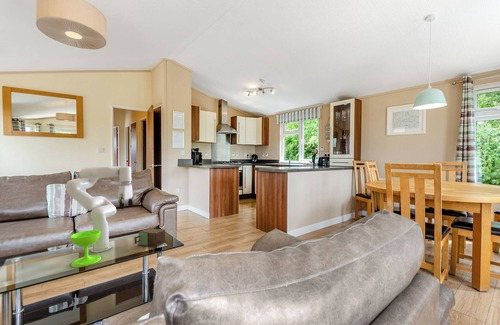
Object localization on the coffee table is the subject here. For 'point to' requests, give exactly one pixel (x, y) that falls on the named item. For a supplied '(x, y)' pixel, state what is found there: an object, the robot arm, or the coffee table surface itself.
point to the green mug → (142, 238)
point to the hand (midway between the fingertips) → (126, 207)
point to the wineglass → (85, 247)
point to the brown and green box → (154, 237)
